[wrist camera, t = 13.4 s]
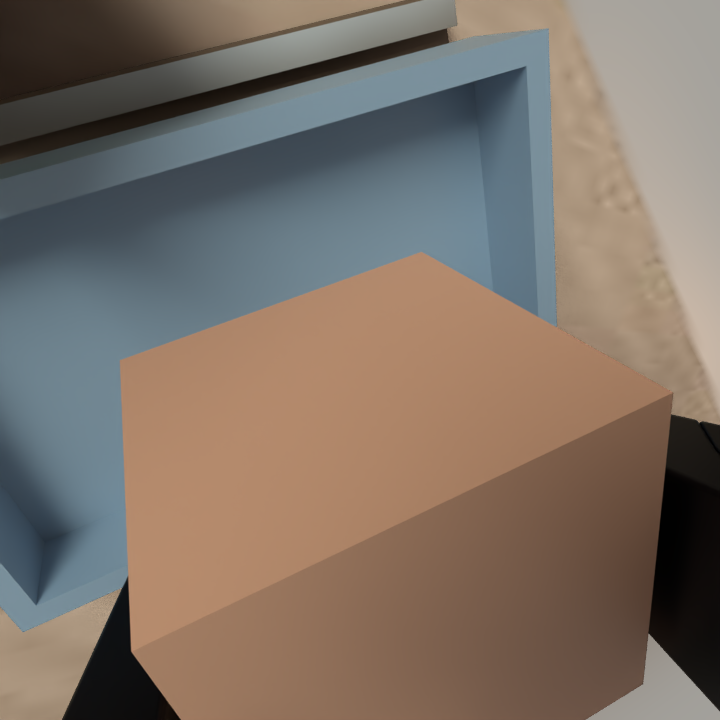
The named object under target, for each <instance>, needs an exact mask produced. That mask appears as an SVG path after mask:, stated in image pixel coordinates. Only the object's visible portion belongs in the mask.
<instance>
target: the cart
mask: <svg viewBox="0 0 720 720" xmlns="http://www.w3.org/2000/svg"><path fill="white" fill-rule="evenodd" d="M420 252H423V253H425V254H427V255H428V256H430V257H432V258H434V259H435V260H437V261H439V262H441V263H443V264H444V265H446V266H448V267H450V268H452V269H453V270H455V271H457V272H459V273H460V274H462V275H464V276H466V277H468V278H469V279H471V280H473V281H475V282H477V283H478V284H480V285H482V286H484V287H485V288H487V289H489V290H491V291H493V292H494V293H496V294H498V295H500V296H502V297H503V298H505V299H507V300H509V301H511V302H512V303H514V304H516V305H518V306H519V307H521V308H523V309H525V310H527V311H528V312H530V313H532V314H534V315H536V316H537V317H539V318H541V319H543V320H544V321H546V322H548V323H550V324H552V325H553V326H555V327H557V315H556V280H555V244H554V208H553V172H552V137H551V101H550V65H549V30H548V29H539V30H530V31H520V32H511V33H502V34H492V35H483V36H474V37H470V38H466V39H462V40H459V41H455V42H451V43H448V44H444V45H440V46H436V47H433V48H429V49H425V50H422V51H418V52H414V53H411V54H407V55H403V56H399V57H396V58H392V59H388V60H385V61H381V62H377V63H374V64H370V65H366V66H362V67H359V68H355V69H351V70H348V71H344V72H340V73H337V74H333V75H329V76H325V77H322V78H318V79H314V80H311V81H307V82H303V83H299V84H296V85H292V86H288V87H285V88H281V89H277V90H274V91H270V92H266V93H262V94H259V95H255V96H251V97H248V98H244V99H240V100H237V101H233V102H229V103H225V104H222V105H218V106H214V107H211V108H207V109H203V110H199V111H196V112H192V113H188V114H185V115H181V116H177V117H174V118H170V119H166V120H162V121H159V122H155V123H151V124H148V125H144V126H140V127H137V128H133V129H129V130H125V131H122V132H118V133H114V134H111V135H107V136H103V137H100V138H96V139H92V140H88V141H85V142H81V143H77V144H74V145H70V146H66V147H62V148H59V149H55V150H51V151H48V152H44V153H40V154H37V155H33V156H29V157H25V158H22V159H18V160H14V161H11V162H7V163H3V164H0V607H1V608H2V609H3V610H4V611H5V612H6V614H7V615H8V616H9V617H10V618H11V619H12V620H13V621H14V623H15V624H16V625H17V626H18V627H19V628H20V629H21V631H22V632H25V631H27V630H29V629H31V628H34V627H36V626H38V625H40V624H42V623H45V622H47V621H49V620H51V619H54V618H56V617H58V616H60V615H62V614H65V613H67V612H69V611H71V610H73V609H76V608H78V607H80V606H82V605H85V604H87V603H89V602H91V601H93V600H96V599H98V598H100V597H102V596H104V595H107V594H109V593H111V592H113V591H116V590H118V589H120V588H122V587H123V585H124V583H125V581H126V579H127V577H128V555H127V530H126V505H125V479H124V454H123V429H122V403H121V378H120V360H122V359H125V358H127V357H130V356H133V355H136V354H138V353H141V352H144V351H147V350H150V349H152V348H155V347H158V346H161V345H164V344H166V343H169V342H172V341H175V340H177V339H180V338H183V337H186V336H189V335H191V334H194V333H197V332H200V331H202V330H205V329H208V328H211V327H214V326H216V325H219V324H222V323H225V322H228V321H230V320H233V319H236V318H239V317H241V316H244V315H247V314H250V313H253V312H255V311H258V310H261V309H264V308H267V307H269V306H272V305H275V304H278V303H280V302H283V301H286V300H289V299H292V298H294V297H297V296H300V295H303V294H305V293H308V292H311V291H314V290H317V289H319V288H322V287H325V286H328V285H331V284H333V283H336V282H339V281H342V280H344V279H347V278H350V277H353V276H356V275H358V274H361V273H364V272H367V271H370V270H372V269H375V268H378V267H381V266H383V265H386V264H389V263H392V262H395V261H397V260H400V259H403V258H406V257H408V256H411V255H414V254H417V253H420Z"/></svg>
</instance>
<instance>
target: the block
mask: <svg viewBox="0 0 720 720" xmlns="http://www.w3.org/2000/svg"><path fill="white" fill-rule="evenodd" d="M120 378H121V403H122V429H123V454H124V479H125V505H126V530H127V555H128V581H129V606H130V632H131V652H132V653H133V655H134V656H135V657H136V659H137V660H138V662H139V663H140V664H141V666H142V667H143V668H144V670H145V671H146V672H147V674H148V675H149V677H150V678H151V679H152V681H153V682H154V683H155V685H156V686H157V688H158V689H159V690H160V692H161V693H162V694H163V696H164V697H165V698H166V700H167V701H168V703H169V704H170V705H171V707H172V708H173V709H174V711H175V712H176V714H177V715H178V716H179V718H180V719H181V720H586V719H587V718H589V717H591V716H592V715H594V714H595V713H597V712H599V711H600V710H602V709H604V708H605V707H607V706H608V705H610V704H612V703H613V702H615V701H616V700H618V699H620V698H621V697H623V696H625V695H626V694H628V693H629V692H631V691H633V690H634V689H636V688H637V687H639V686H641V685H642V684H643V679H644V670H645V660H646V651H647V641H648V631H649V622H650V612H651V602H652V593H653V583H654V574H655V564H656V554H657V545H658V535H659V525H660V516H661V506H662V496H663V487H664V477H665V467H666V458H667V448H668V438H669V429H670V419H671V409H672V400H673V392H671V391H670V390H668V389H666V388H664V387H662V386H661V385H659V384H657V383H655V382H654V381H652V380H650V379H648V378H646V377H645V376H643V375H641V374H639V373H637V372H636V371H634V370H632V369H630V368H628V367H627V366H625V365H623V364H621V363H620V362H618V361H616V360H614V359H612V358H611V357H609V356H607V355H605V354H603V353H602V352H600V351H598V350H596V349H595V348H593V347H591V346H589V345H587V344H586V343H584V342H582V341H580V340H578V339H577V338H575V337H573V336H571V335H569V334H568V333H566V332H564V331H562V330H561V329H559V328H557V327H555V326H553V325H552V324H550V323H548V322H546V321H544V320H543V319H541V318H539V317H537V316H536V315H534V314H532V313H530V312H528V311H527V310H525V309H523V308H521V307H519V306H518V305H516V304H514V303H512V302H511V301H509V300H507V299H505V298H503V297H502V296H500V295H498V294H496V293H494V292H493V291H491V290H489V289H487V288H485V287H484V286H482V285H480V284H478V283H477V282H475V281H473V280H471V279H469V278H468V277H466V276H464V275H462V274H460V273H459V272H457V271H455V270H453V269H452V268H450V267H448V266H446V265H444V264H443V263H441V262H439V261H437V260H435V259H434V258H432V257H430V256H428V255H427V254H425V253H423V252H420V253H417V254H414V255H411V256H408V257H406V258H403V259H400V260H397V261H395V262H392V263H389V264H386V265H383V266H381V267H378V268H375V269H372V270H370V271H367V272H364V273H361V274H358V275H356V276H353V277H350V278H347V279H344V280H342V281H339V282H336V283H333V284H331V285H328V286H325V287H322V288H319V289H317V290H314V291H311V292H308V293H305V294H303V295H300V296H297V297H294V298H292V299H289V300H286V301H283V302H280V303H278V304H275V305H272V306H269V307H267V308H264V309H261V310H258V311H255V312H253V313H250V314H247V315H244V316H241V317H239V318H236V319H233V320H230V321H228V322H225V323H222V324H219V325H216V326H214V327H211V328H208V329H205V330H202V331H200V332H197V333H194V334H191V335H189V336H186V337H183V338H180V339H177V340H175V341H172V342H169V343H166V344H164V345H161V346H158V347H155V348H152V349H150V350H147V351H144V352H141V353H138V354H136V355H133V356H130V357H127V358H125V359H122V360H120Z"/></svg>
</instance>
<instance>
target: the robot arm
mask: <svg viewBox="0 0 720 720" xmlns="http://www.w3.org/2000/svg"><path fill="white" fill-rule="evenodd" d="M648 633H649V634H650V635H651V636H652V637H653V638H654V640H655V641H656V642H657V643H658V644H659V645H660V646H661V647H662V648H663V650H664V651H665V652H666V653H667V654H668V655H669V656H670V657H671V658H672V659H673V661H674V662H675V663H676V664H677V665H678V666H679V667H680V668H681V669H682V670H683V671H684V672H685V674H686V675H687V676H688V677H689V678H690V679H691V680H692V681H693V682H694V683H695V684H696V686H697V687H698V688H699V689H700V690H701V691H702V692H703V693H704V694H705V696H706V697H707V698H708V699H709V700H710V701H711V702H712V703H713V704H714V705H715V707H716V708H717V709H718V710H719V711H720V425H717V424H713V423H708V422H704V421H702V422H700V423H699V422H698V421H697V420H694V419H690V418H685V417H681V416H676V415H672V414H671V419H670V429H669V438H668V448H667V458H666V467H665V477H664V487H663V496H662V506H661V516H660V525H659V535H658V545H657V554H656V564H655V574H654V583H653V593H652V602H651V612H650V622H649V631H648ZM62 720H181V719H180V718H179V716H178V715H177V714H176V712H175V711H174V709H173V708H172V707H171V705H170V704H169V703H168V701H167V700H166V698H165V697H164V696H163V694H162V693H161V692H160V690H159V689H158V688H157V686H156V685H155V683H154V682H153V681H152V679H151V678H150V677H149V675H148V674H147V672H146V671H145V670H144V668H143V667H142V666H141V664H140V663H139V662H138V660H137V659H136V657H135V656H134V655H133V653H132V652H131V632H130V606H129V581H128V577H127V579H126V581H125V583H124V585H123V588H122V590H121V592H120V594H119V596H118V598H117V601H116V603H115V605H114V607H113V609H112V612H111V614H110V616H109V618H108V620H107V622H106V625H105V627H104V629H103V631H102V633H101V636H100V638H99V640H98V642H97V644H96V646H95V649H94V651H93V653H92V655H91V657H90V660H89V662H88V664H87V666H86V668H85V671H84V673H83V675H82V677H81V679H80V681H79V684H78V686H77V688H76V690H75V692H74V695H73V697H72V699H71V701H70V703H69V705H68V708H67V710H66V712H65V714H64V716H63V719H62Z"/></svg>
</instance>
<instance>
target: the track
mask: <svg viewBox="0 0 720 720" xmlns="http://www.w3.org/2000/svg"><path fill="white" fill-rule="evenodd" d="M453 26H457V18H456V8H455V0H405V1H401V2H396V3H392V4H388V5H384V6H380V7H376V8H372V9H368V10H364V11H360V12H356V13H352V14H348V15H344V16H339V17H335V18H331V19H327V20H323V21H319V22H315V23H311V24H307V25H303V26H299V27H295V28H291V29H287V30H282V31H278V32H274V33H270V34H266V35H262V36H258V37H254V38H250V39H246V40H242V41H238V42H234V43H229V44H225V45H221V46H217V47H213V48H209V49H205V50H201V51H197V52H193V53H189V54H185V55H181V56H177V57H172V58H168V59H164V60H160V61H156V62H152V63H148V64H144V65H140V66H136V67H132V68H128V69H124V70H120V71H115V72H111V73H107V74H103V75H99V76H95V77H91V78H87V79H83V80H79V81H75V82H71V83H67V84H63V85H58V86H54V87H50V88H46V89H42V90H38V91H34V92H30V93H26V94H22V95H18V96H14V97H10V98H6V99H1V100H0V164H3V163H7V162H11V161H14V160H18V159H22V158H25V157H29V156H33V155H37V154H40V153H44V152H48V151H51V150H55V149H59V148H62V147H66V146H70V145H74V144H77V143H81V142H85V141H88V140H92V139H96V138H100V137H103V136H107V135H111V134H114V133H118V132H122V131H125V130H129V129H133V128H137V127H140V126H144V125H148V124H151V123H155V122H159V121H162V120H166V119H170V118H174V117H177V116H181V115H185V114H188V113H192V112H196V111H199V110H203V109H207V108H211V107H214V106H218V105H222V104H225V103H229V102H233V101H237V100H240V99H244V98H248V97H251V96H255V95H259V94H262V93H266V92H270V91H274V90H277V89H281V88H285V87H288V86H292V85H296V84H299V83H303V82H307V81H311V80H314V79H318V78H322V77H325V76H329V75H333V74H337V73H340V72H344V71H348V70H351V69H355V68H359V67H362V66H366V65H370V64H374V63H377V62H381V61H385V60H388V59H392V58H396V57H399V56H403V55H407V54H411V53H414V52H418V51H422V50H425V49H429V48H433V47H436V46H440V45H444V44H448V34H447V28H450V27H453Z"/></svg>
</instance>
